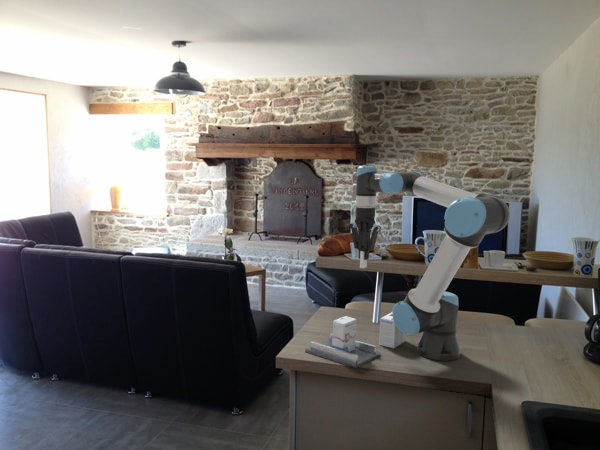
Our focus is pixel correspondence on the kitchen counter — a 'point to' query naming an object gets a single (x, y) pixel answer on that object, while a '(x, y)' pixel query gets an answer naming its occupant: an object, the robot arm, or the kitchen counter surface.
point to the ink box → (344, 334)
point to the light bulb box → (390, 332)
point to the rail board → (352, 358)
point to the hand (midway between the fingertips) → (363, 267)
